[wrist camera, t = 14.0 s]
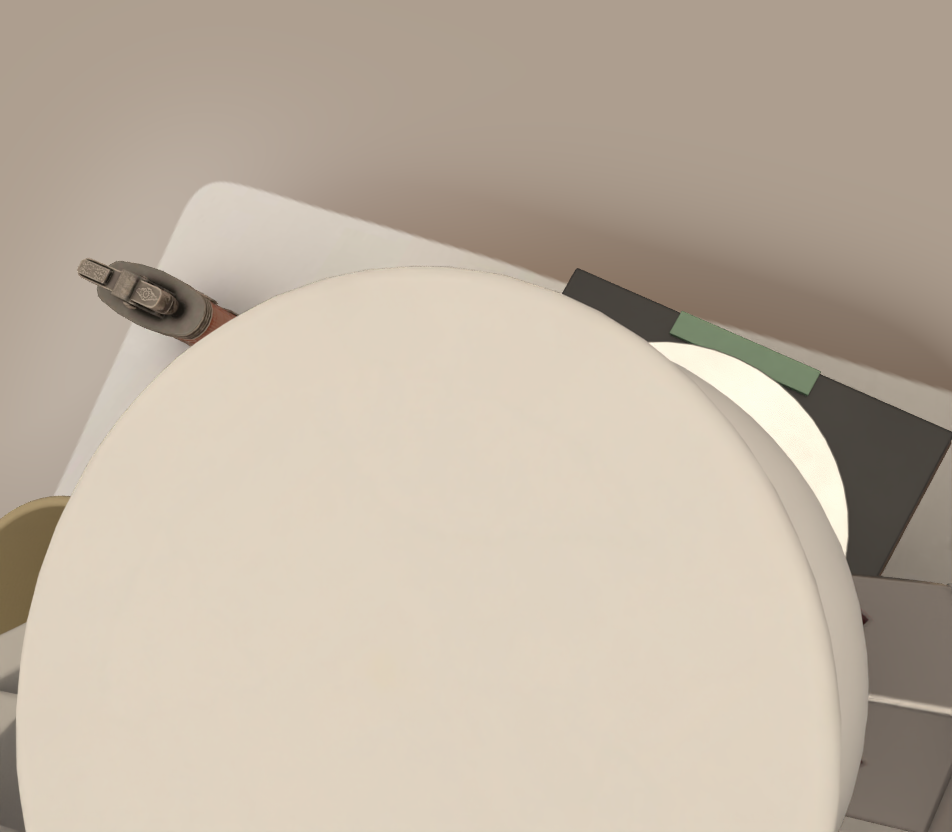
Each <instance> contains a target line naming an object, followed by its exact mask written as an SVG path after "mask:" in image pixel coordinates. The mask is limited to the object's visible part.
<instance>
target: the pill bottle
mask: <svg viewBox="0 0 952 832" xmlns="http://www.w3.org/2000/svg"><path fill="white" fill-rule="evenodd" d="M868 689H869V681H868V661H867V650H866V643H865V636H864V629H863V623H862V616H861V609H860V604H859V601H858V597H857V593H856V590H855V586H854V583H853V579H852V575H851V572H850V569H849V566H848V563H847V560H846V557H845V555H844V552H843V549H842V546H841V544H840V542H839V540H838V538H837V536H836V534H835V532H834V530H833V528H832V526H831V524H830V522H829V520H828V518H827V516H826V514H825V512H824V510H823V508H822V506H821V504H820V502H819V500H818V499H817V497H816V495H815V494H814V492H813V490H812V489H811V487H810V486H809V484H808V483H807V482H806V480H805V479H804V477H803V476H802V474H801V473H800V471H799V470H798V468H797V467H796V466H795V464H794V463H793V462H792V460H791V459H790V458H789V457H788V456H787V455H786V453H785V452H784V451H783V450H782V449H781V447H780V446H779V445H778V444H777V443H776V441H775V440H774V439H773V438H772V437H771V436H770V435H769V434H768V433H767V432H766V431H765V430H764V429H763V428H762V427H761V426H760V425H759V424H758V423H757V422H756V421H755V420H754V419H753V418H752V417H751V416H750V415H749V414H748V413H746V412H745V411H744V410H743V409H742V408H741V407H739V406H738V405H737V404H736V403H735V402H734V401H732V400H731V399H730V398H728V397H727V396H726V395H724V394H723V393H722V392H720V391H719V390H718V389H716V388H715V387H714V386H712V385H711V384H709V383H708V382H706V381H705V380H703V379H701V378H700V377H698V376H697V375H695V374H694V373H692V372H690V371H689V370H687V369H686V368H684V367H682V366H680V365H678V364H676V363H674V362H672V361H670V360H669V359H668V358H666V357H665V356H664V355H663V354H662V353H660V352H659V351H658V350H657V349H656V348H654V347H653V346H652V345H651V344H649V343H648V342H647V341H646V340H644V339H643V338H641V337H640V336H638V335H637V334H635V333H633V332H632V331H630V330H629V329H627V328H625V327H624V326H622V325H620V324H619V323H617V322H616V321H614V320H612V319H611V318H609V317H608V316H606V315H605V314H603V313H602V312H600V311H598V310H596V309H593V308H591V307H589V306H587V305H585V304H583V303H581V302H578V301H576V300H574V299H572V298H570V297H568V296H566V295H563V294H561V293H559V292H556V291H553V290H550V289H546V288H543V287H540V286H537V285H534V284H531V283H528V282H525V281H522V280H519V279H516V278H513V277H509V276H506V275H502V274H495V273H489V272H482V271H475V270H469V269H462V268H455V267H435V266H409V267H396V268H382V269H368V270H363V271H359V272H354V273H349V274H344V275H339V276H335V277H330V278H325V279H322V280H319V281H316V282H313V283H310V284H308V285H305V286H302V287H299V288H297V289H294V290H291V291H288V292H285V293H283V294H280V295H277V296H275V297H273V298H271V299H269V300H267V301H265V302H263V303H261V304H259V305H257V306H255V307H253V308H251V309H250V310H248V311H246V312H244V313H242V314H241V315H239V316H237V317H235V318H233V319H232V320H230V321H228V322H227V323H225V324H224V325H222V326H221V327H219V328H217V329H216V330H214V331H213V332H211V333H210V334H208V335H207V336H205V337H204V338H202V339H201V340H200V341H198V342H197V343H195V344H194V345H193V346H191V347H190V348H189V349H187V350H186V351H185V352H184V353H182V354H181V355H180V356H178V357H177V358H176V359H175V360H174V361H173V362H172V363H171V364H170V365H169V366H167V367H166V368H165V369H164V370H163V371H162V372H161V373H160V374H159V375H158V376H157V377H156V378H155V379H154V380H153V381H152V382H151V383H150V384H149V385H148V386H147V387H146V388H145V389H144V390H143V391H142V392H141V393H140V395H139V396H138V397H137V398H136V399H135V401H134V402H133V403H132V404H131V405H130V406H129V408H128V409H127V410H126V411H125V412H124V414H123V415H122V416H121V417H120V418H119V420H118V421H117V422H116V424H115V425H114V426H113V428H112V429H111V430H110V432H109V433H108V435H107V436H106V437H105V439H104V440H103V441H102V443H101V444H100V445H99V447H98V449H97V450H96V452H95V453H94V455H93V456H92V458H91V460H90V461H89V463H88V464H87V466H86V468H85V470H84V472H83V474H82V476H81V478H80V480H79V482H78V483H77V485H76V487H75V489H74V491H73V493H72V495H71V497H70V499H69V501H68V503H67V505H66V507H65V509H64V511H63V513H62V515H61V517H60V519H59V521H58V524H57V526H56V528H55V531H54V534H53V536H52V539H51V542H50V545H49V547H48V550H47V553H46V555H45V558H44V561H43V564H42V566H41V569H40V572H39V575H38V579H37V583H36V587H35V591H34V595H33V599H32V603H31V607H30V611H29V615H28V619H27V623H26V629H25V635H24V641H23V647H22V653H21V661H20V672H19V683H18V694H17V706H16V759H17V776H18V784H19V792H20V800H21V806H22V812H23V818H24V825H25V831H26V832H839V829H840V827H841V825H842V823H843V820H844V817H845V815H846V812H847V809H848V806H849V804H850V801H851V798H852V795H853V791H854V786H855V782H856V778H857V774H858V770H859V766H860V762H861V758H862V754H863V748H864V738H865V729H866V722H867V716H868Z"/></svg>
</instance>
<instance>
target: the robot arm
mask: <svg viewBox="0 0 952 832" xmlns="http://www.w3.org/2000/svg"><path fill="white" fill-rule="evenodd" d="M851 575H852V579H853V583H854V586H855V590H856V593H857V597H858V601H859V604H860V609H861V616H862V623H863V629H864V636H865V643H866V650H867V661H868V681H869V689H868V716H867V722H866V729H865V738H864V748H863V754H862V758H861V762H860V766H859V770H858V774H857V778H856V782H855V786H854V791H853V795H852V798H851V801H850V804H849V806H848V809H847V812H846V815H845V816H847V817H852V818H856V819H860V820H864V821H868V822H872V823H876V824H881V825H885V826H889V827H893V828H897V829H901V830H905V831H910V832H952V584H947V585H944V584H942V583H934V582H926V581H917V580H909V579H900V578H892V577H883V576H875V575H866V574H858V573H851ZM26 623H27V622H26ZM26 623H24V624H22V625H20V626H18V627H16V628H14V629H12V630H9V631H7V632H5V633H3V634H1V635H0V832H26V831H25V825H24V818H23V812H22V806H21V800H20V792H19V784H18V776H17V759H16V706H17V694H18V683H19V672H20V661H21V653H22V647H23V641H24V635H25V629H26Z"/></svg>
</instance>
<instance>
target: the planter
mask: <svg viewBox="0 0 952 832" xmlns="http://www.w3.org/2000/svg"><path fill="white" fill-rule="evenodd" d="M70 497H71V496H50V497H45V498H40V499H37V500H34V501H30V502H28V503H26V504H24V505H21V506H19V507H18V508H16V509H14V510H12V511H11V512H9V513H8V514H7V515H5V516H4V517H2V518H1V519H0V635H1V634H3V633H5V632H7V631H9V630H12V629H14V628H16V627H18V626H20V625H22V624H24V623H26V622H27V619H28V615H29V611H30V607H31V603H32V599H33V595H34V591H35V587H36V583H37V579H38V575H39V572H40V569H41V566H42V564H43V561H44V558H45V555H46V553H47V550H48V547H49V545H50V542H51V539H52V536H53V534H54V531H55V528H56V526H57V524H58V521H59V519H60V517H61V515H62V513H63V511H64V509H65V507H66V505H67V503H68V501H69V499H70Z"/></svg>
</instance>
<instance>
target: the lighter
mask: <svg viewBox="0 0 952 832" xmlns="http://www.w3.org/2000/svg"><path fill="white" fill-rule="evenodd" d="M77 271H78V275H79V276H80V277H81V278H83V279H85V280H87V281H89V282H92V283H94V284H96V285H98V286H97V292H98V296H99V298H100V299H101V300H102V301H103V302H104V303H106V304H107V305H108V306H109V307H110V308H112V309H113V310H114V311H115V312H117V313H118V314H120V315H121V316H123V317H125V318H127V319H128V320H130V321H132V322H134V323H135V324H137V325H140V326H142V327H144V328H146V329H149V330H152V331H155V332H158V333H160V334H163V335H166V336H171V337H174V338H176V339H178V340H180V341H182V342H184V343H186V344H188V345H189V346H190V347H191V346H193V345H194V344H195V343H197V342H198V341H200V340H201V339H202V338H204V337H205V336H207V335H208V334H210V333H211V332H213V331H214V330H216V329H217V328H219V327H221V326H222V325H224V324H225V323H227V322H228V321H230V320H232V319H233V318H235V317H237V316H239V315H238V314H236V313H235V312H233V311H231V310H228V309H225V308H222V307H219V306H217V304H218V303H217V301H215V300H213V299H211V298H210V297H208V296H206V295H204V294H203V293H201V292H199V291H197V290H195V289H194V288H192V287H191V286H189V285H188V284H186V283H184V282H183V281H181V280H179V279H177V278H175V277H173V276H171V275H169V274H167V273H166V272H164V271H161V270H158V269H155V268H152V267H149V266H145V265H142V264H137V263H130V262H124V261H116V262H114V263H112V264H110V265H109V266H107V265H105V264H103V263H100V262H98V261H95V260H93V259H91V258H86V259H84V260H82V261H81V263H80V264H79V266H78V269H77Z"/></svg>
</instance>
